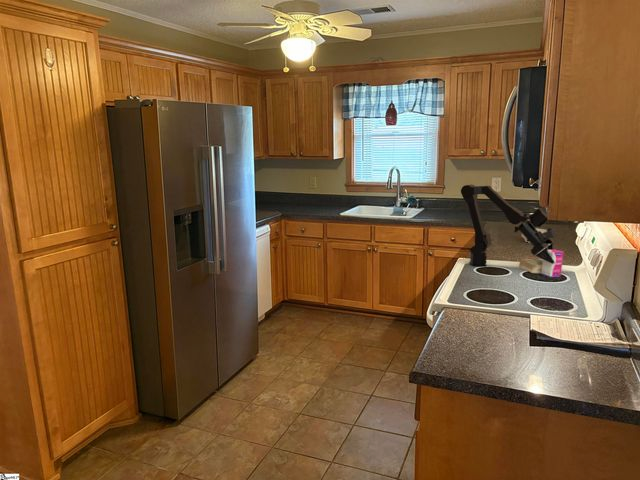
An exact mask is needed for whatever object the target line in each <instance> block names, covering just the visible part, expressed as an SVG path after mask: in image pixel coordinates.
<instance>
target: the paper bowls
mask: <svg viewBox="0 0 640 480" xmlns="http://www.w3.org/2000/svg"><path fill="white" fill-rule="evenodd" d="M535 229H536V230H537V231H541V232H542V233H544V232H547V229H544V228H539V227H535ZM520 236H521V238H523V239H524V241H525V243H527V242H528V241H527V238H526V237H525V236H524V235H523V234H522V233H521V235H520ZM528 244H531V243H530V242H528Z"/></svg>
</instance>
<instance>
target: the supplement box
mask: <svg viewBox="0 0 640 480" xmlns="http://www.w3.org/2000/svg"><path fill="white" fill-rule="evenodd" d="M548 253H549V254H550V256H551V257H552V259H553V260H554V263H553V264H552V263H550V262H548V261H546V260H544V259H543V264H542V272H541V273H540V274H541V275H542V276H545V277H547V278H560V277H561V276H562V269H563V268H562V267H563V261H564V253H565V252H564V251H562V250H558V249H551V250H548Z"/></svg>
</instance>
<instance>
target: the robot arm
mask: <svg viewBox="0 0 640 480" xmlns="http://www.w3.org/2000/svg"><path fill="white" fill-rule="evenodd" d="M460 193H461V196H462V198H463V200H464V202H465V203H466V204H467V208H468V211H469V215H470V219H471V223H472V227H473V231H474V245H473V246H472V247H471V248H469V252H470V259H469V262H468V264H469V263H470V265H471V266H472V267H487V259H488V258H487V253H486V252H487V250H488V249H489V248H490V247H492V242H493V239H492V237H491V233H490V232H489V233H487V232H486V230H485V227H484V223H483V220H482V215H481V212H480V208H479V204H478V195H485V196H486V197H487V198H488V199H489V200H490V201H491V202H492V203H493V204H494V205H495V206H496V207H497V208H499V210H501V211H502V212H503V215H504V216H505V217H506V219H507V221H508V222H509V223H511V225H515V226H514V233H518V232H519V231H520V233H521V234H523V235H524V236H525V237H526V238H527V241H528V242H530V243H529V244H530V245H531V246H532V248H531V249H530V253H531V254H532V256H535V257H538V259H544V260H546V261H548V262H550V263H552V264H553V263H554V260H553V259H552V257H551V256H550V254H549V253H548V250H551V249H554V245H555V243H554V240H553V238H556V237H557V236H558V234H557V230H556V229H555V228H554V229H553V228H552V227H550V228H547V229H546V230H547V232H544V233H542V232H541V231H537V230H536V229H535V228H540V227H542V226H544V225H545V224H546V223H547V222H549V221H548V220H547V215H548V213H547V212H545V211H544V210H542V208H540V207H538V208H537V209H536V210H535V211H534V212H532V214H526V213H524V212H523V211H521V210H520V209H518V208H517V207H515V206H513V205H511V204H510V203H509V202H508V201H507V200H506V199H504V198H503V197H502V196H501V194H499V193H498V192H497V191H496V190H495V189H494V188H493V187H492V186H491V185H474V184H466V185H463V186H462V187H461V189H460Z"/></svg>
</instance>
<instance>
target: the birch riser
mask: <svg viewBox="0 0 640 480" xmlns="http://www.w3.org/2000/svg"><path fill="white" fill-rule="evenodd" d="M542 264H543V259H541V258H535V259H533V258H531V259H529V258H528V259H527V258H522V259H521V258H520V259H519V267H520V268H521V269H523V270H525V271H528V272H530V273H531V274H541V272H542Z"/></svg>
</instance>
